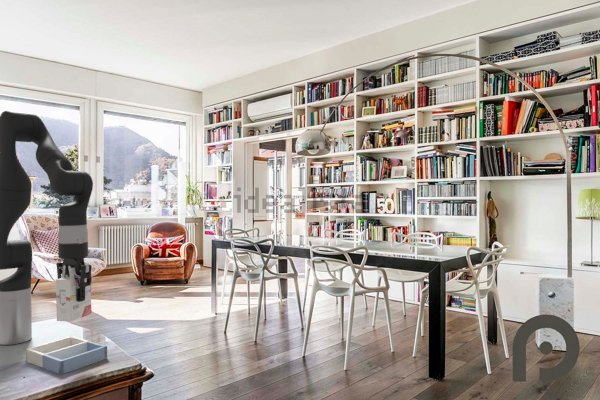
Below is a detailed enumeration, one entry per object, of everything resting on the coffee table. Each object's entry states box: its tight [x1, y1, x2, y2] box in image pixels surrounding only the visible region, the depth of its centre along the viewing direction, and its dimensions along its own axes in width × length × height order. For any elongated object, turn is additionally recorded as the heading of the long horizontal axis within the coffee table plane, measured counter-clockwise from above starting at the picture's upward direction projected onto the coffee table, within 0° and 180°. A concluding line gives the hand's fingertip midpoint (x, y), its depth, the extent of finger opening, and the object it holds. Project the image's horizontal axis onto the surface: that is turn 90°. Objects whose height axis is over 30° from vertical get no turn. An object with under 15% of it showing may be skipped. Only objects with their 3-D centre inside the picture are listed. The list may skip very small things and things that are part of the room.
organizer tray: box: [25, 335, 108, 375], centre depth 126 cm, size 18×14×4 cm
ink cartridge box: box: [55, 263, 92, 323], centre depth 124 cm, size 9×5×15 cm, turn 168°
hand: (74, 299), depth 124 cm, fingers closed on ink cartridge box, 6 cm apart
